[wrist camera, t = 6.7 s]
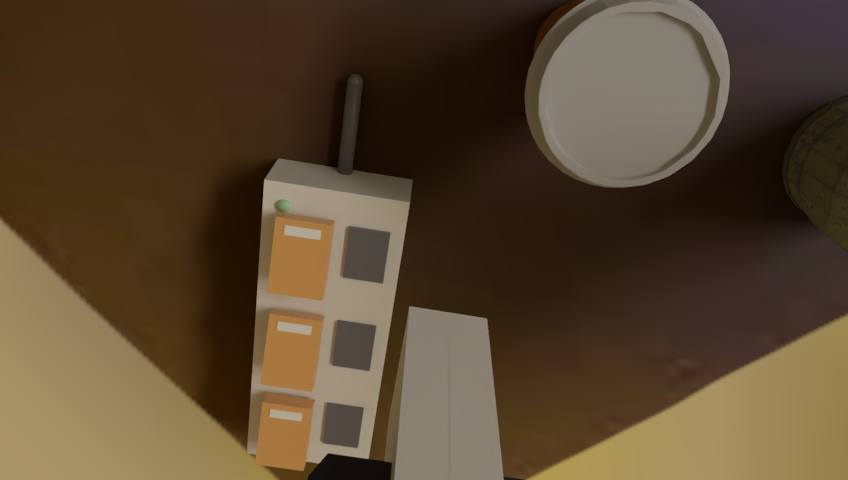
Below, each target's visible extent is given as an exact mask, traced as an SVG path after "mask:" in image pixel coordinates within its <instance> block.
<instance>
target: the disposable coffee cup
mask: <svg viewBox="0 0 848 480" xmlns="http://www.w3.org/2000/svg"><path fill="white" fill-rule="evenodd" d="M729 77H730V68H729V61H728V55H727V51H726V48H725V45H724V42H723V39H722V37H721V35H720V33H719V31H718V30H717V28H716V26H715V25H714V23H713V21H712V20H711V19H710V18H709V17H708V16H707V14H706V13H705V12H704V11H703V10H701V9H700V8H699V7H698V6H697V5H695V4H694V3H693V2H691V1H689V0H572V1H569V2H567V3H566V4H564V5H562V6H560V7H559V8H557V9H556V10H555V11H553V12H552V13H551V14H550V15H549V16H548V18H547V19H546V20H545V21H544V22H543V24H542V26H541V28H540V29H539V31H538V34H537V36H536V39H535V43H534V50H533V60H532V63H531V65H530V67H529V70H528V75H527V80H526V87H525V111H526V116H527V121H528V124H529V128H530V131H531V134H532V136H533V138H534V140H535V141H536V143H537V145H538V147H539V149H540V150H541V151H542V152H543V154H544V155H545V156H546V158H547V159H548V160H549V161H550V162H551V163H552V164H554V165H555V166H556V167H557V168H558V169H560V170H561V171H562V172H563V173H565V174H567V175H569V176H571V177H572V178H574V179H576V180H579V181H582V182H585V183H587V184H590V185H596V186H602V187H631V186H639V185H646V184H649V183H652V182H654V181H657V180H660V179H663V178H665V177H668V176H670V175H672V174H673V173H674V172H676V171H677V170H679V169H680V168H682V167H683V166H685V165H686V164H688V163H689V162H691V161H692V160H693V159H694V158H695V157H696V156H697V155H698V154H699V152H700V151H701V150H702V149H703V148H704V147H705V146H706V145H707V143H708V142H709V141H710V140H711V139H712V137H713V135H714V133H715V131H716V129H717V127H718V125H719V123H720V122H721V120H722V117H723V114H724V110H725V107H726V103H727V98H728V91H729Z"/></svg>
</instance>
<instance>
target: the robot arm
mask: <svg viewBox="0 0 848 480" xmlns="http://www.w3.org/2000/svg"><path fill="white" fill-rule="evenodd" d="M308 480H522V479H516V478H509V477H503V469H502V459H501V449H500V439H499V430H498V420H497V410H496V401H495V391H494V381H493V371H492V362H491V352H490V342H489V333H488V323H487V318H481V317H474V316H468V315H462V314H455V313H449V312H443V311H436V310H430V309H423V308H417V307H411V306H409V312H408V317H407V323H406V328H405V334H404V339H403V345H402V350H401V356H400V361H399V366H398V372H397V377H396V383H395V388H394V394H393V399H392V405H391V410H390V416H389V423H388V432H387V441H386V451H385V460H384V461H378V460H371V459H365V458H358V457H351V456H344V455H337V454H330V453H328V454H327V455H326V456H325V457H324V458H323V460H322V461H321V462H320V463H319V464H318V465H317V467H316V468H315V469H314V470H313V471H312V473H311V474H310V475H309V476H308Z"/></svg>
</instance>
